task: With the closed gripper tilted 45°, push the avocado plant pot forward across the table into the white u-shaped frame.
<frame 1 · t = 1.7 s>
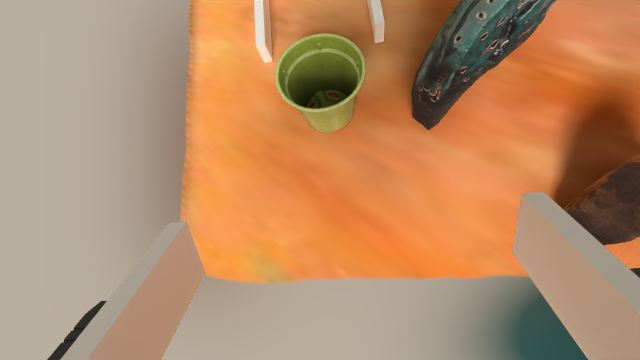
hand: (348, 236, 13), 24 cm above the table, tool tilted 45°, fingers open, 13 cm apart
white u-shaped frame: (318, 16, 47), on the table
ceramic cat: (471, 75, 41), on the table
plant pot: (329, 112, 43), on the table
decorative rock: (606, 197, 35), on the table
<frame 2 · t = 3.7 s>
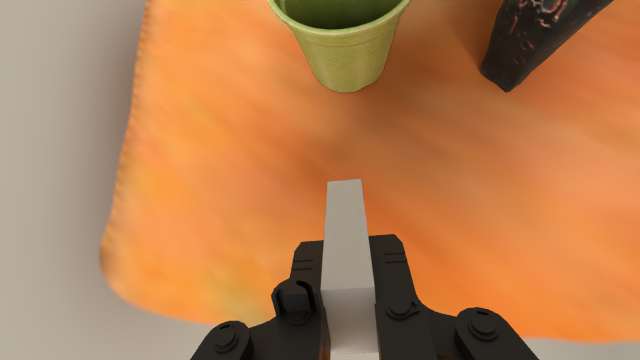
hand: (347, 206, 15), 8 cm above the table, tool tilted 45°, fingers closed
ceramic cat: (572, 13, 27), on the table
plant pot: (348, 62, 28), on the table
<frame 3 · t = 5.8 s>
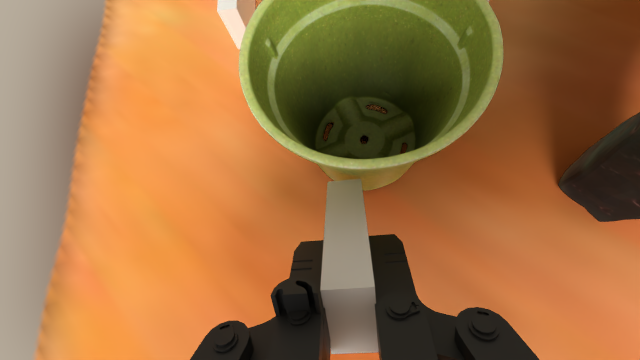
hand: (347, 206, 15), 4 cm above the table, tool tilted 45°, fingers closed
plant pot: (364, 142, 20), on the table, touching gripper
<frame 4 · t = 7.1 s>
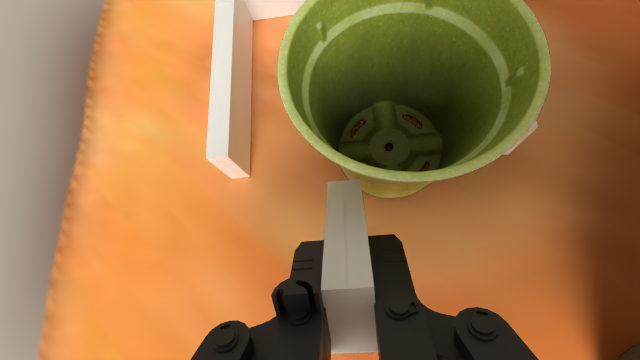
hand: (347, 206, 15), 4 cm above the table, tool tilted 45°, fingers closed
white u-shaped frame: (355, 80, 22), on the table
plant pot: (389, 150, 20), on the table, touching gripper
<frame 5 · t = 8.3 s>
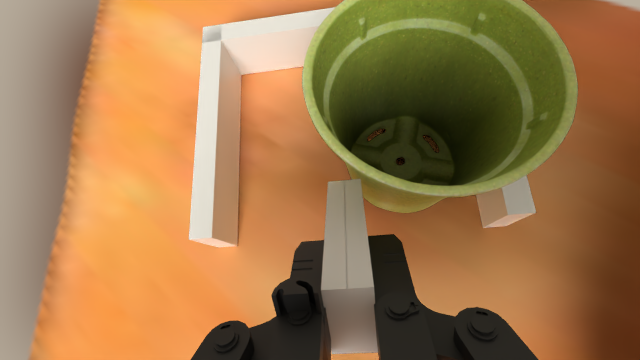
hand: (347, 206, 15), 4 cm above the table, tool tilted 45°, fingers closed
white u-shaped frame: (346, 141, 21), on the table
plant pot: (400, 165, 20), on the table, touching gripper
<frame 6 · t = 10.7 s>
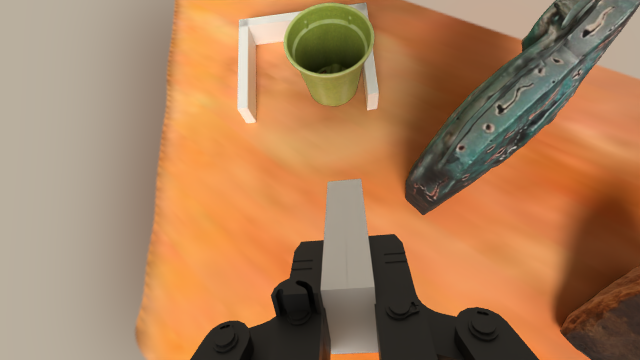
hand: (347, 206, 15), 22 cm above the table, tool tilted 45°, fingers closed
white u-shaped frame: (308, 75, 44), on the table
ceramic cat: (470, 154, 38), on the table
plant pot: (333, 87, 43), on the table
decorative rock: (611, 306, 32), on the table
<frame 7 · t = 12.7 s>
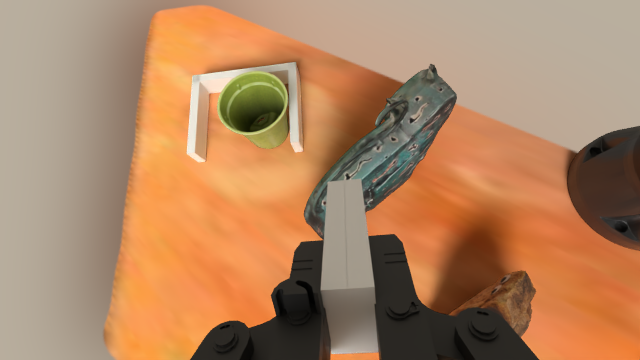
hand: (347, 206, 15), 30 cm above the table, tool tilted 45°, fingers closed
white u-shaped frame: (250, 121, 52), on the table
ceramic cat: (374, 191, 47), on the table
plant pot: (270, 131, 52), on the table
decorative rock: (470, 317, 40), on the table
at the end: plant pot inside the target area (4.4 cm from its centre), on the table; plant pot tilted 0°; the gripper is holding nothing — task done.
